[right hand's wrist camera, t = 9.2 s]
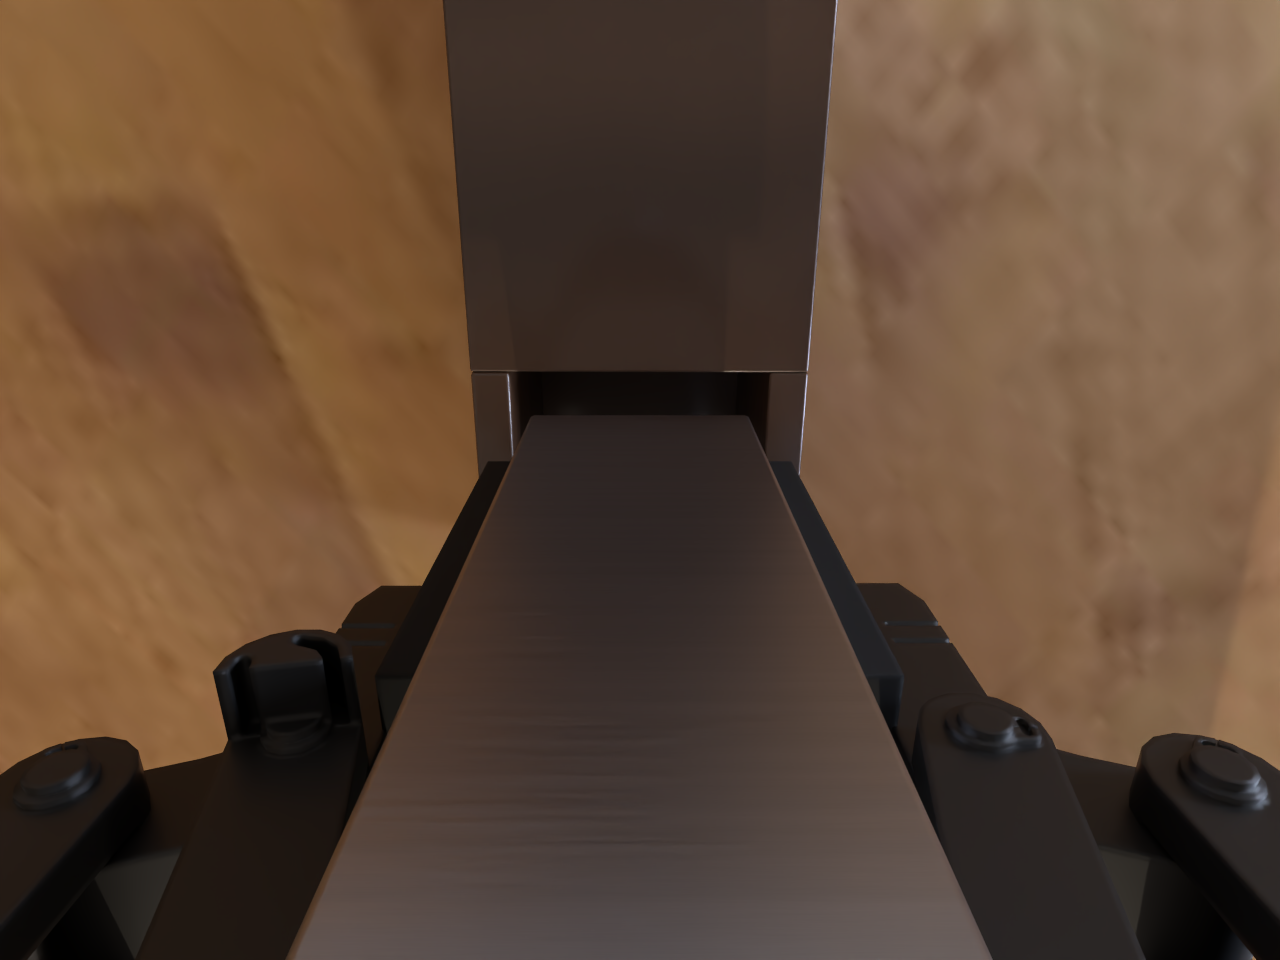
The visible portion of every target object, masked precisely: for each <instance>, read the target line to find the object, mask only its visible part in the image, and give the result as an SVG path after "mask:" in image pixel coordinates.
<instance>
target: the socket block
mask: <svg viewBox="0 0 1280 960" xmlns="http://www.w3.org/2000/svg"><path fill="white" fill-rule="evenodd" d="M837 4H838V0H443V9H444V23H445V36H446V49H447V63H448V76H449V90H450V103H451V116H452V130H453V143H454V156H455V170H456V183H457V197H458V210H459V223H460V237H461V250H462V264H463V277H464V290H465V304H466V317H467V331H468V344H469V357H470V369H471V371H473V372H472V375H471V379H472V392H473V406H474V419H475V432H476V446H477V459H478V473H479V477H480V475H481V473H482V471H483V470H484V468H485V466H486V464H487V462H488V461H511V460H512V457H513V455H514V453H515V451H516V448H517V446H518V444H519V442H520V440H521V437H522V435H523V433H524V431H525V429H526V426H527V424H528V422H529V420H530V418H531V417H532V416H534V415H745V416H748V417H749V419H750V421H751V424H752V426H753V428H754V430H755V432H756V435H757V437H758V439H759V441H760V444H761V446H762V448H763V450H764V452H765V455H766V457H767V459H768V461H791V462H792V464H793V465H794V467H795V469H796V471H797V473H798V475H799V477H800V466H801V453H802V441H803V428H804V416H805V403H806V391H807V378H808V374H807V371H808V366H809V353H810V341H811V328H812V316H813V304H814V291H815V279H816V266H817V254H818V241H819V229H820V216H821V204H822V191H823V179H824V166H825V154H826V141H827V129H828V116H829V104H830V91H831V79H832V66H833V54H834V41H835V29H836V16H837Z"/></svg>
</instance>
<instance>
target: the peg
mask: <svg viewBox="0 0 1280 960" xmlns="http://www.w3.org/2000/svg"><path fill="white" fill-rule="evenodd" d="M285 960H993V959H992V957H991V955H990V953H989V950H988V948H987V946H986V944H985V941H984V939H983V937H982V935H981V933H980V930H979V928H978V926H977V924H976V921H975V919H974V917H973V915H972V913H971V910H970V908H969V906H968V904H967V901H966V899H965V897H964V895H963V893H962V890H961V888H960V886H959V884H958V881H957V879H956V877H955V875H954V873H953V870H952V868H951V866H950V864H949V861H948V859H947V857H946V855H945V853H944V850H943V848H942V846H941V844H940V841H939V839H938V837H937V835H936V833H935V830H934V828H933V826H932V824H931V821H930V819H929V817H928V815H927V813H926V810H925V808H924V806H923V804H922V801H921V799H920V797H919V795H918V793H917V790H916V788H915V786H914V784H913V781H912V779H911V777H910V775H909V773H908V770H907V768H906V766H905V764H904V761H903V759H902V757H901V755H900V753H899V750H898V748H897V746H896V744H895V741H894V739H893V737H892V735H891V732H890V730H889V728H888V726H887V724H886V721H885V719H884V717H883V715H882V712H881V710H880V708H879V706H878V704H877V701H876V699H875V697H874V695H873V692H872V690H871V688H870V686H869V684H868V681H867V679H866V677H865V675H864V672H863V670H862V668H861V666H860V664H859V661H858V659H857V657H856V655H855V652H854V650H853V648H852V646H851V644H850V641H849V639H848V637H847V635H846V632H845V630H844V628H843V626H842V624H841V621H840V619H839V617H838V615H837V612H836V610H835V608H834V606H833V604H832V601H831V599H830V597H829V595H828V592H827V590H826V588H825V586H824V584H823V581H822V579H821V577H820V575H819V572H818V570H817V568H816V566H815V564H814V561H813V559H812V557H811V555H810V552H809V550H808V548H807V546H806V544H805V541H804V539H803V537H802V535H801V532H800V530H799V528H798V526H797V524H796V521H795V519H794V517H793V515H792V512H791V510H790V508H789V506H788V504H787V501H786V499H785V497H784V495H783V492H782V490H781V488H780V486H779V484H778V481H777V479H776V477H775V475H774V472H773V470H772V468H771V466H770V464H769V461H768V459H767V457H766V455H765V452H764V450H763V448H762V446H761V444H760V441H759V439H758V437H757V435H756V432H755V430H754V428H753V426H752V424H751V421H750V419H749V417H748V416H745V415H534V416H532V417H531V418H530V420H529V422H528V424H527V426H526V429H525V431H524V433H523V435H522V437H521V440H520V442H519V444H518V446H517V448H516V451H515V453H514V455H513V457H512V460H511V462H510V464H509V466H508V468H507V471H506V473H505V475H504V477H503V479H502V482H501V484H500V486H499V488H498V490H497V493H496V495H495V497H494V499H493V502H492V504H491V506H490V508H489V510H488V513H487V515H486V517H485V519H484V521H483V524H482V526H481V528H480V530H479V532H478V535H477V537H476V539H475V541H474V544H473V546H472V548H471V550H470V552H469V555H468V557H467V559H466V561H465V563H464V566H463V568H462V570H461V572H460V574H459V577H458V579H457V581H456V583H455V586H454V588H453V590H452V592H451V594H450V597H449V599H448V601H447V603H446V605H445V608H444V610H443V612H442V614H441V616H440V619H439V621H438V623H437V625H436V628H435V630H434V632H433V634H432V636H431V639H430V641H429V643H428V645H427V647H426V650H425V652H424V654H423V656H422V658H421V661H420V663H419V665H418V667H417V670H416V672H415V674H414V676H413V678H412V681H411V683H410V685H409V687H408V689H407V692H406V694H405V696H404V698H403V701H402V703H401V705H400V707H399V709H398V712H397V714H396V716H395V718H394V720H393V723H392V725H391V727H390V729H389V731H388V734H387V736H386V738H385V740H384V743H383V745H382V747H381V749H380V751H379V754H378V756H377V758H376V760H375V762H374V765H373V767H372V769H371V771H370V773H369V776H368V778H367V780H366V782H365V785H364V787H363V789H362V791H361V793H360V796H359V798H358V800H357V802H356V804H355V807H354V809H353V811H352V813H351V815H350V818H349V820H348V822H347V824H346V827H345V829H344V831H343V833H342V835H341V838H340V840H339V842H338V844H337V846H336V849H335V851H334V853H333V855H332V857H331V860H330V862H329V864H328V866H327V869H326V871H325V873H324V875H323V877H322V880H321V882H320V884H319V886H318V888H317V891H316V893H315V895H314V897H313V899H312V902H311V904H310V906H309V908H308V911H307V913H306V915H305V917H304V919H303V922H302V924H301V926H300V928H299V930H298V933H297V935H296V937H295V939H294V941H293V944H292V946H291V948H290V950H289V953H288V955H287V957H286V959H285Z"/></svg>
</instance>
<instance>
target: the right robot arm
mask: <svg viewBox="0 0 1280 960" xmlns="http://www.w3.org/2000/svg"><path fill="white" fill-rule="evenodd" d="M510 462H511V461H488V462H487V464H486V466H485V468H484V470H483V471H482V473H481V475H480V477H479V479H478V481H477V483H476V485H475V487H474V489H473V490H472V492H471V494H470V496H469V498H468V500H467V502H466V504H465V506H464V507H463V509H462V511H461V513H460V515H459V517H458V519H457V521H456V523H455V524H454V526H453V528H452V530H451V532H450V534H449V536H448V538H447V540H446V541H445V543H444V545H443V547H442V549H441V551H440V553H439V555H438V557H437V559H436V560H435V562H434V564H433V566H432V568H431V570H430V572H429V574H428V576H427V577H426V579H425V581H424V583H423V585H422V586H380V587H379V588H377V589H376V590H375V591H373V592H372V593H370V594H369V595H367V596H366V597H364V598H363V599H361V600H360V601H359V602H357V603H356V604H355V605H354V607H353V608H352V610H351V611H350V613H349V614H348V616H347V617H346V619H345V620H344V622H343V623H342V628H339V629H338V631H337V632H336V634H335V633H331V632H327V631H323V630H293V631H288V632H283V633H277V634H272V635H269V636H266V637H263V638H261V639H258V640H256V641H253V642H250V643H248V644H245V645H244V646H242V647H241V648H239V649H237V650H236V651H234V652H233V653H231V654H229V655H228V656H226V657H225V658H224V659H223V660H222V662H221V663H220V664H219V665H218V666H217V667H216V669H215V670H214V671H213V675H214V680H215V684H216V688H217V693H218V697H219V701H220V706H221V710H222V715H223V719H224V723H225V728H226V732H227V737H228V742H227V744H226V746H225V749H224V751H223V753H219V754H216V755H212V756H209V757H205V758H201V759H197V760H193V761H188V762H183V763H178V764H174V765H169V766H164V767H159V768H155V769H150V770H145V771H144V770H143V766H142V763H141V759H140V756H139V752H138V750H137V749H136V748H135V747H133V746H132V745H131V744H130V743H129V742H128V741H127V740H121V739H116V738H111V737H97V738H86V739H78V740H74V741H69V742H65V743H64V744H58V745H55V746H52V747H49V748H46V749H44V750H43V751H41V752H39V753H37V754H35V755H32V756H30V757H28V758H26V759H24V760H22V761H20V762H18V763H17V764H15V765H14V766H12V767H11V768H9V769H8V770H7V771H5V772H4V773H2V774H1V775H0V960H285V959H286V957H287V955H288V953H289V950H290V948H291V946H292V944H293V941H294V939H295V937H296V935H297V933H298V930H299V928H300V926H301V924H302V922H303V919H304V917H305V915H306V913H307V911H308V908H309V906H310V904H311V902H312V899H313V897H314V895H315V893H316V891H317V888H318V886H319V884H320V882H321V880H322V877H323V875H324V873H325V871H326V869H327V866H328V864H329V862H330V860H331V857H332V855H333V853H334V851H335V849H336V846H337V844H338V842H339V840H340V838H341V835H342V833H343V831H344V829H345V827H346V824H347V822H348V820H349V818H350V815H351V813H352V811H353V809H354V807H355V804H356V802H357V800H358V798H359V796H360V793H361V791H362V789H363V787H364V785H365V782H366V780H367V778H368V776H369V773H370V771H371V769H372V767H373V765H374V762H375V760H376V758H377V756H378V754H379V751H380V749H381V747H382V745H383V743H384V740H385V738H386V736H387V734H388V731H389V729H390V727H391V725H392V723H393V720H394V718H395V716H396V714H397V712H398V709H399V707H400V705H401V703H402V701H403V698H404V696H405V694H406V692H407V689H408V687H409V685H410V683H411V681H412V678H413V676H414V674H415V672H416V670H417V667H418V665H419V663H420V661H421V658H422V656H423V654H424V652H425V650H426V647H427V645H428V643H429V641H430V639H431V636H432V634H433V632H434V630H435V628H436V625H437V623H438V621H439V619H440V616H441V614H442V612H443V610H444V608H445V605H446V603H447V601H448V599H449V597H450V594H451V592H452V590H453V588H454V586H455V583H456V581H457V579H458V577H459V574H460V572H461V570H462V568H463V566H464V563H465V561H466V559H467V557H468V555H469V552H470V550H471V548H472V546H473V544H474V541H475V539H476V537H477V535H478V532H479V530H480V528H481V526H482V524H483V521H484V519H485V517H486V515H487V513H488V510H489V508H490V506H491V504H492V502H493V499H494V497H495V495H496V493H497V490H498V488H499V486H500V484H501V482H502V479H503V477H504V475H505V473H506V471H507V468H508V466H509V464H510ZM769 464H770V466H771V468H772V470H773V472H774V475H775V477H776V479H777V481H778V484H779V486H780V488H781V490H782V492H783V495H784V497H785V499H786V501H787V504H788V506H789V508H790V510H791V512H792V515H793V517H794V519H795V521H796V524H797V526H798V528H799V530H800V532H801V535H802V537H803V539H804V541H805V544H806V546H807V548H808V550H809V552H810V555H811V557H812V559H813V561H814V564H815V566H816V568H817V570H818V572H819V575H820V577H821V579H822V581H823V584H824V586H825V588H826V590H827V592H828V595H829V597H830V599H831V601H832V604H833V606H834V608H835V610H836V612H837V615H838V617H839V619H840V621H841V624H842V626H843V628H844V630H845V632H846V635H847V637H848V639H849V641H850V644H851V646H852V648H853V650H854V652H855V655H856V657H857V659H858V661H859V664H860V666H861V668H862V670H863V672H864V675H865V677H866V679H867V681H868V684H869V686H870V688H871V690H872V692H873V695H874V697H875V699H876V701H877V704H878V706H879V708H880V710H881V712H882V715H883V717H884V719H885V721H886V724H887V726H888V728H889V730H890V732H891V735H892V737H893V739H894V741H895V744H896V746H897V748H898V750H899V753H900V755H901V757H902V759H903V761H904V764H905V766H906V768H907V770H908V773H909V775H910V777H911V779H912V781H913V784H914V786H915V788H916V790H917V793H918V795H919V797H920V799H921V801H922V804H923V806H924V808H925V810H926V813H927V815H928V817H929V819H930V821H931V824H932V826H933V828H934V830H935V833H936V835H937V837H938V839H939V841H940V844H941V846H942V848H943V850H944V853H945V855H946V857H947V859H948V861H949V864H950V866H951V868H952V870H953V873H954V875H955V877H956V879H957V881H958V884H959V886H960V888H961V890H962V893H963V895H964V897H965V899H966V901H967V904H968V906H969V908H970V910H971V913H972V915H973V917H974V919H975V921H976V924H977V926H978V928H979V930H980V933H981V935H982V937H983V939H984V941H985V944H986V946H987V948H988V950H989V953H990V955H991V957H992V959H993V960H1252V957H1253V956H1254V957H1255V958H1256V960H1280V771H1279V770H1277V769H1276V768H1275V767H1273V766H1272V765H1270V764H1269V763H1268V762H1266V761H1265V760H1263V759H1262V758H1260V757H1258V756H1256V755H1253V754H1251V753H1249V752H1247V751H1245V750H1243V749H1241V748H1239V747H1237V746H1235V745H1233V744H1230V743H1227V742H1224V741H1221V740H1219V741H1218V740H1215V739H1214V738H1209V737H1205V736H1200V735H1190V734H1179V733H1172V734H1166V735H1161V736H1155V737H1153V738H1152V739H1150V740H1149V741H1148V742H1147V743H1146V744H1145V745H1143V746H1142V748H1141V752H1140V755H1139V759H1138V762H1137V766H1136V767H1132V766H1127V765H1122V764H1118V763H1113V762H1108V761H1103V760H1098V759H1094V758H1089V757H1084V756H1079V755H1076V754H1072V753H1069V752H1065V751H1061V750H1058V749H1056V747H1055V745H1054V743H1053V740H1052V738H1051V737H1050V736H1049V734H1048V733H1047V732H1046V730H1045V729H1044V727H1043V726H1042V725H1041V723H1040V722H1038V721H1037V720H1036V719H1034V718H1033V717H1031V716H1030V715H1029V714H1027V713H1026V712H1025V711H1023V710H1022V709H1020V708H1018V707H1016V706H1013V705H1011V704H1009V703H1007V702H1004V701H1002V700H1000V699H997V698H993V697H989V696H987V695H986V693H985V692H984V690H983V689H982V687H981V686H980V684H979V683H978V681H977V680H976V678H975V677H974V675H973V674H972V672H971V671H970V669H969V668H968V666H967V665H966V663H965V662H964V660H963V659H962V657H961V656H960V654H959V653H958V651H957V650H956V648H955V647H954V645H953V644H952V643H949V638H948V636H947V635H946V633H945V632H944V630H943V629H942V627H941V626H938V621H937V620H936V618H935V617H934V615H933V614H932V612H931V611H930V609H929V608H928V606H927V605H926V603H925V602H924V601H923V600H922V599H920V598H919V597H917V596H916V595H914V594H913V593H912V592H910V591H909V590H907V589H906V588H904V587H903V586H901V585H900V584H898V583H855V581H854V579H853V577H852V575H851V573H850V572H849V570H848V568H847V566H846V564H845V562H844V560H843V558H842V556H841V555H840V553H839V551H838V549H837V547H836V545H835V543H834V541H833V539H832V537H831V536H830V534H829V532H828V530H827V528H826V526H825V524H824V522H823V520H822V519H821V517H820V515H819V513H818V511H817V509H816V507H815V505H814V503H813V501H812V500H811V498H810V496H809V494H808V492H807V490H806V488H805V486H804V484H803V483H802V481H801V479H800V477H799V475H798V473H797V471H796V469H795V467H794V465H793V464H792V462H791V461H769Z"/></svg>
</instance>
